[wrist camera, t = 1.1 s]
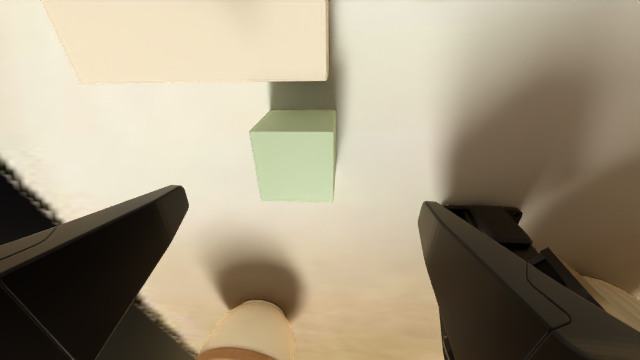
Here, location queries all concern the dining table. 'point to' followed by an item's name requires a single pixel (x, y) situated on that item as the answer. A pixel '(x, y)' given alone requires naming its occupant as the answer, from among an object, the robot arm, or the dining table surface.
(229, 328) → the lidded jar
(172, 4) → the cream square slab
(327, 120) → the green cube
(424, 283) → the dining table surface
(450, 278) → the robot arm
